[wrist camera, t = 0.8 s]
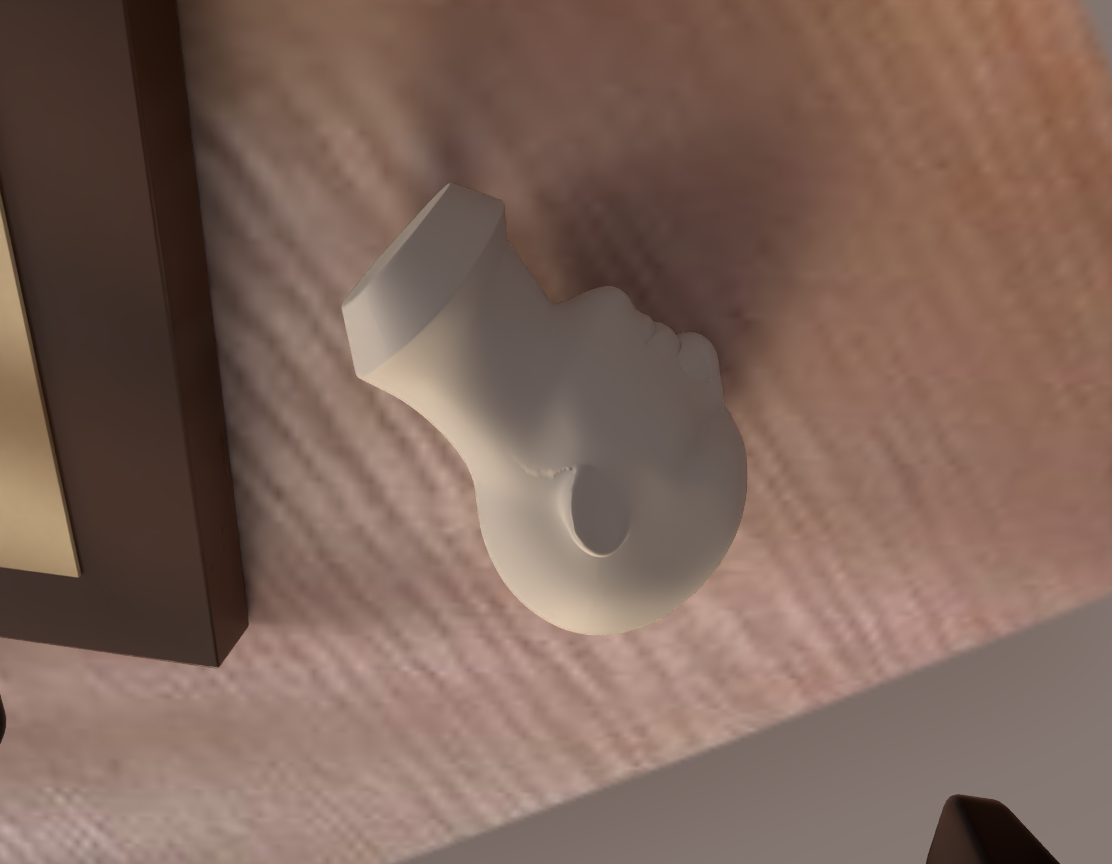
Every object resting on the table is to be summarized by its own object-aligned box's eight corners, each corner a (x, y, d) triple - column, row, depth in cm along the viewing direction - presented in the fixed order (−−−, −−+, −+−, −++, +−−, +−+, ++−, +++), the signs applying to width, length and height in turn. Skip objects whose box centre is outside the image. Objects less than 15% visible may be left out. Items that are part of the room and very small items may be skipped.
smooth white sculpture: (763, 468, 18) (548, 604, 19) (555, 107, 16) (308, 268, 16) (860, 562, 14) (581, 733, 14) (599, 94, 12) (267, 312, 12)
